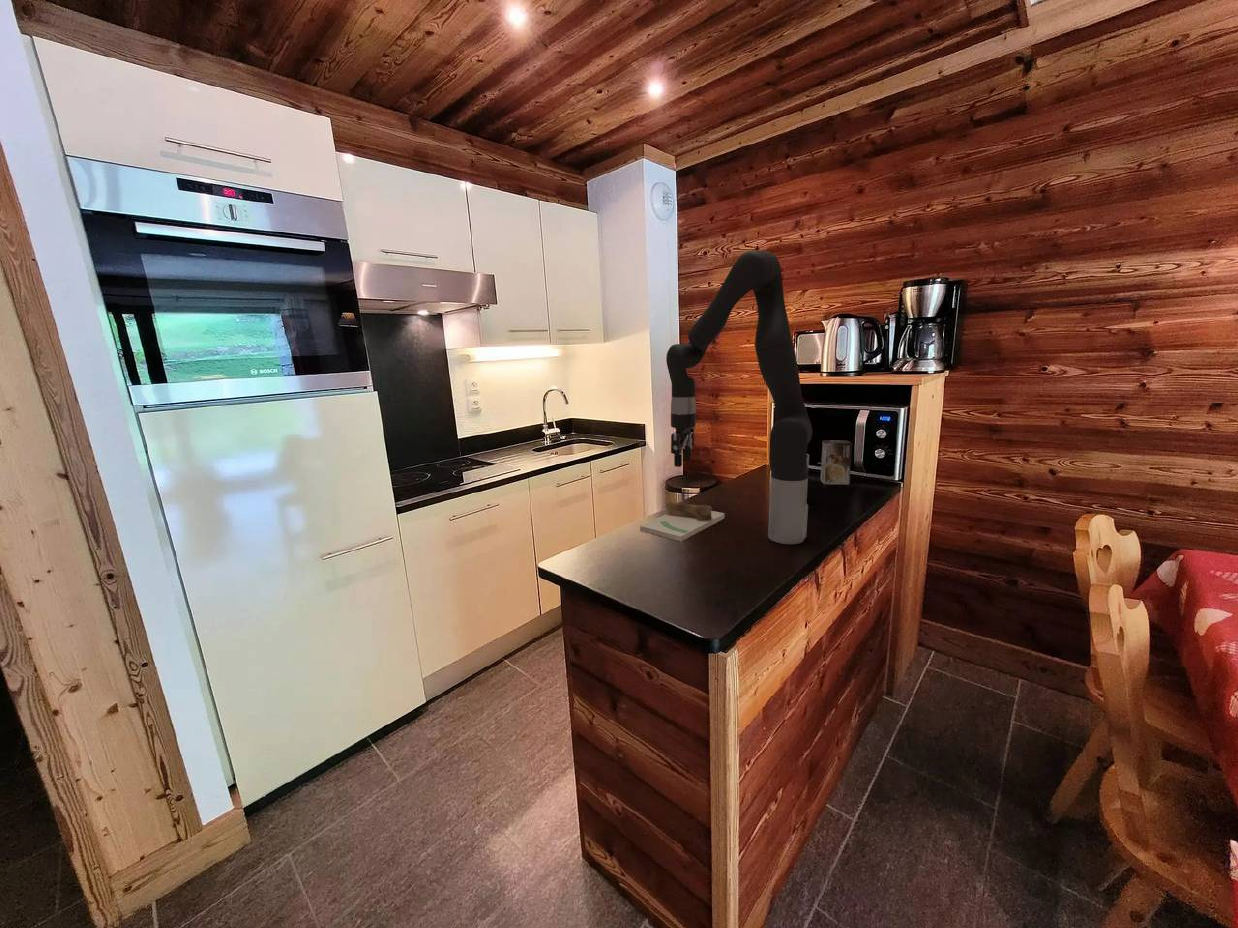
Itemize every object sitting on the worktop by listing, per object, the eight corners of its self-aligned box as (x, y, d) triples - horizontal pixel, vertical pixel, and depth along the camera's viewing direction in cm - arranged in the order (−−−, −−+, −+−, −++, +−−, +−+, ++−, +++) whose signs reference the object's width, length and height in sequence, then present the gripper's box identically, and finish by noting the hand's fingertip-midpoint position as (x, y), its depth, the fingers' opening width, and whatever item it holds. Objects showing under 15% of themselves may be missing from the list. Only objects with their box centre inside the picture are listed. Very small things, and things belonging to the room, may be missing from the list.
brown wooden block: (713, 516, 143) (713, 505, 143) (708, 521, 140) (708, 509, 139) (670, 510, 150) (670, 500, 149) (665, 515, 146) (665, 504, 145)
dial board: (685, 509, 156) (686, 505, 156) (724, 518, 147) (724, 513, 147) (640, 530, 139) (640, 525, 138) (681, 541, 129) (681, 536, 129)
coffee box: (844, 480, 186) (847, 439, 182) (849, 485, 180) (853, 442, 176) (819, 480, 187) (822, 439, 184) (823, 484, 181) (826, 442, 178)
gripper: (679, 408, 154) (679, 458, 157) (662, 414, 141) (662, 467, 145) (702, 409, 150) (701, 460, 154) (686, 414, 138) (686, 469, 141)
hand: (682, 463), depth 149 cm, fingers open, 8 cm apart
